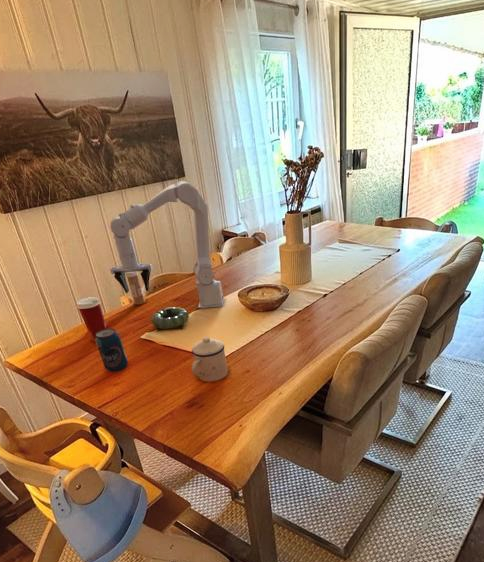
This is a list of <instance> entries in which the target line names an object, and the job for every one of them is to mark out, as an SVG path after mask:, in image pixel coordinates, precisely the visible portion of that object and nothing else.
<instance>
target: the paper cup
mask: <svg viewBox="0 0 484 562" xmlns="http://www.w3.org/2000/svg"><path fill="white" fill-rule="evenodd" d="M76 308H77V309H78V311H79V313H80V315H81V317H82V320H83V322H84V324H85V328H86V330H87V331H88V333H89V336H90V338H91V340H92V341H93V342H94V343H96V341H95V339H96V333H97V332H98V331H100V330H103V329H108V328H107V324H106V321H105V317H104V313H103V309H102V306H101V300H99V298H98V297H97V296H89V297H83V298H81V299H79V300H78V301H76Z"/></svg>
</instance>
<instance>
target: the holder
mask: <svg viewBox="0 0 484 562" xmlns="http://www.w3.org/2000/svg"><path fill="white" fill-rule="evenodd" d="M171 308H172V307H171V306H167V307H166V308H165V309H166V312H167V316H168V318H171V317H173V313H172V309H171ZM185 324H186V322H185V323H184V324H182V325H181V326H178V327H174V328H167V329H162V328H157V327H156V330H157V332H162V331H163V332H164V331H174V330H175V331H176V330H183V329H184V327H185Z"/></svg>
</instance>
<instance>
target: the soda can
mask: <svg viewBox="0 0 484 562" xmlns="http://www.w3.org/2000/svg"><path fill="white" fill-rule="evenodd" d="M95 341H96V342H95V344H96V347H97V351H98V352H99V355H100V358H101V361H102V364H103V367H104V369H105V370H107V371H108V372H109V373H119V372H122V371H124V370H125V369H126V368H127V367H128V364H129V360H128V357H127V354H126V351H125V348H124V344H123V342H122V339H121V336H120V333H119V332H118V331H116V329H115V328H112V327H109V328H107V329H103V330H100V331H98V332H97V333H96V339H95Z"/></svg>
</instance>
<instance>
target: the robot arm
mask: <svg viewBox="0 0 484 562" xmlns="http://www.w3.org/2000/svg"><path fill="white" fill-rule="evenodd" d="M178 201H180V203H182V204H185V205H187V206H188V207H189V208H190V209H191V210H192V211H193V221H194V223H193V224H194V239H195V240H194V241H195V242H194V243H195V259H194V260H195V263H194V266H193V268H192V269H193V270H192V271H193V275H195V277H196V281H195V286H196V289H197V296H198V301H199V303H198V305H197V308H198V309H207V308H208V309H209V308H219V307H223V305H224V304H223V303H224V301H225V298H224V295H223V293H224V292H223V286H222V282H221V281H220V280H215V274H214V271H213V269H212V262H211V258H210V239H209V237H210V236H209V235H210V234H209V212H208V205H207V203H206V201H205V200H204V199H203V197H202V195H201V194H200V192H199V190H198V189H197V188H196V187H194V186H193V185H192V184H190V183H189V182H187V181H186V180H178V181H176V182H175V183H172V184H170V185H169V186H167V187H165V188H164V189H163V190H161V191H159V192H158V193H157V194H155V195H154V196H153V197H151V198H150V199H149V200H147V201H146V202H145V203H143V204H141V203H140V204H139V203H136V204H133V203H132V204H130V205H129V208H128V209H126V210H125V211H123V212H119V213H118V216H115V217H113V218H112V219H111V221H110V230H111V232H112V234H113V239H114V244H115V247H116V250H117V253H118V257H119V260H120V264H121V265H118V266H112V267H110V269H109V271H110V273H111V275H113V277H114V279H115V280H116V281H117V282H118V284H120V285H121V287H122V289H123V290H124V292H125V294H128V292H130V287H129V284H128V281H127V276H126V273H125V272H136V271H137V272H140V276H141V278H142V281H143V285H144V289H145V291H146V292H149V291H150V278H151V277H150V276H151V272H152V270H153V265H152V263H139V261H138V257H137V253H136V250H135V246H134V245H135V244H134V242H133V238H131V233H130V232H131V231H130V230H134V229H136V228H137V227H139V226H140V225H141V224H143V223H145V222H146V221H147V220H148V219H149V214H151V213H153V212H154V211H155V210H156V211H157V209H159V208H160V207H162V206H164V205H165V204H167V203H178Z"/></svg>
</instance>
